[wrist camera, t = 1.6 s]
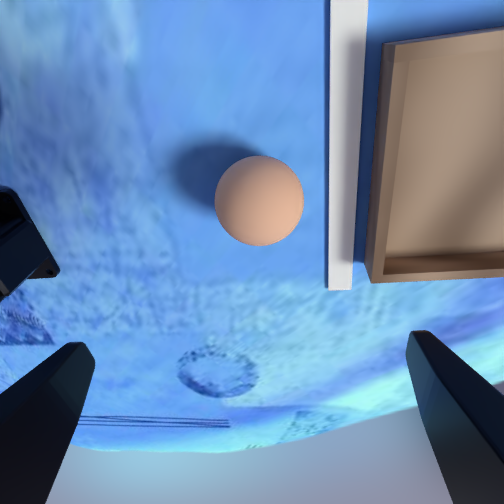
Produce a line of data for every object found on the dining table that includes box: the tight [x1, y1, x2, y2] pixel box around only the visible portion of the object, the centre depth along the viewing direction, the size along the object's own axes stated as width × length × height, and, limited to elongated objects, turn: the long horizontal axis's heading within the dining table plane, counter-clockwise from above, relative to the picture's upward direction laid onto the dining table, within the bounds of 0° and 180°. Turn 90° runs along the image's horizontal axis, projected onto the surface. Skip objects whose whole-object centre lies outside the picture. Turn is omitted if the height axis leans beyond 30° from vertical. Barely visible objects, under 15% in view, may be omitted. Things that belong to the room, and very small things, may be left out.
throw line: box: [328, 0, 368, 291], centre depth 18 cm, size 2×16×1 cm, turn 8°
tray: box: [364, 26, 504, 283], centre depth 16 cm, size 12×12×2 cm
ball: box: [215, 156, 304, 246], centre depth 16 cm, size 4×4×4 cm
